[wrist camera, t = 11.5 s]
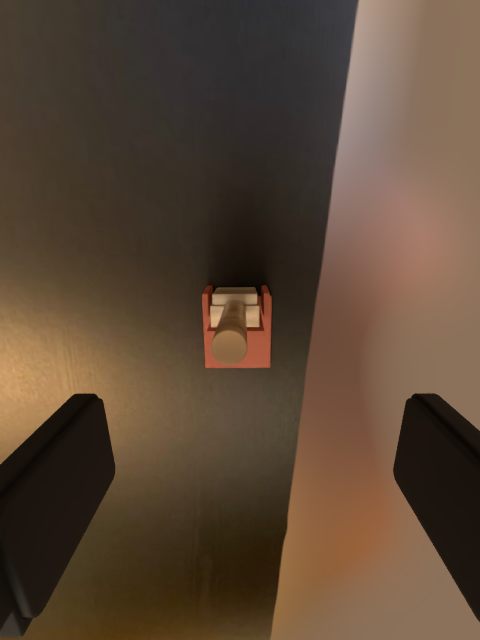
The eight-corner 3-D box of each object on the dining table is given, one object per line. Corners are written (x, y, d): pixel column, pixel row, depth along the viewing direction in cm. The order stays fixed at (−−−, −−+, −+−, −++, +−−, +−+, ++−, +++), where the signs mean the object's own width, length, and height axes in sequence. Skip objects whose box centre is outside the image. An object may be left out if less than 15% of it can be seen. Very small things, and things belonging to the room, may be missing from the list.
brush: (187, 321, 15) (189, 373, 16) (270, 320, 15) (269, 373, 16) (215, 287, 30) (216, 315, 31) (257, 286, 30) (256, 314, 30)
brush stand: (202, 285, 33) (192, 298, 26) (271, 285, 33) (278, 298, 26) (206, 365, 36) (198, 394, 30) (269, 365, 36) (275, 394, 29)
